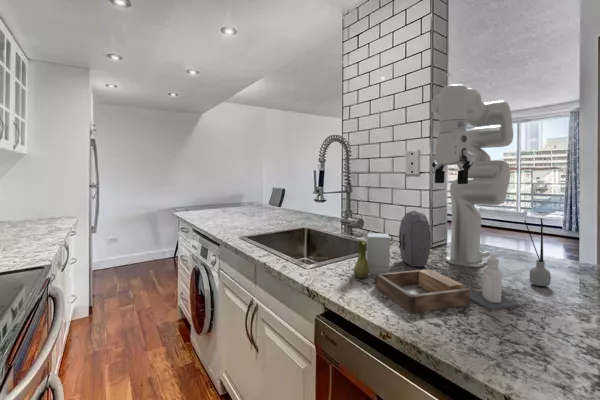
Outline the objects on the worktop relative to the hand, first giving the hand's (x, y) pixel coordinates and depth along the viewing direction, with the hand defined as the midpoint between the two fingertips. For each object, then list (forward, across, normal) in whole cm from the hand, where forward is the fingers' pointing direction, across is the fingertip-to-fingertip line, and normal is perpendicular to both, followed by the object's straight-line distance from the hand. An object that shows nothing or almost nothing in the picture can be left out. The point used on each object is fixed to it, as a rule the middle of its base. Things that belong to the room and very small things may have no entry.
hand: (450, 183), depth 94 cm
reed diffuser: (+31, -12, -21) cm, 39 cm away
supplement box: (+30, +12, +18) cm, 37 cm away
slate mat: (+30, -18, +2) cm, 35 cm away
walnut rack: (+30, -10, +18) cm, 36 cm away
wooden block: (+30, -10, +11) cm, 34 cm away
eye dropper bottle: (+30, -18, +2) cm, 35 cm away
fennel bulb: (+30, +8, +26) cm, 41 cm away
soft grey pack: (+31, +16, +2) cm, 35 cm away
